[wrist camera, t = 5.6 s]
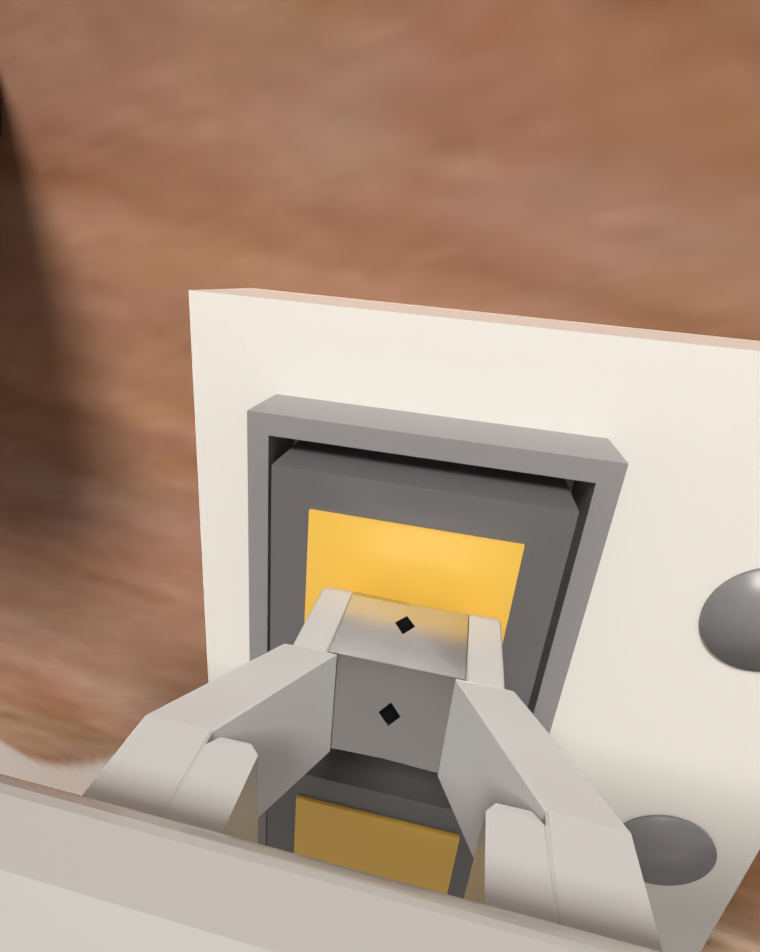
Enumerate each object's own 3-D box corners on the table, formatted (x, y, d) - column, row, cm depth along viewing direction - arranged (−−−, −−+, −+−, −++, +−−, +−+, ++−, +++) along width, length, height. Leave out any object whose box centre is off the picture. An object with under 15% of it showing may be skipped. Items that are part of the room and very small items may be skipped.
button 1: (560, 467, 10) (579, 514, 8) (511, 672, 12) (517, 749, 10) (309, 432, 10) (270, 466, 8) (301, 630, 12) (268, 694, 10)
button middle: (496, 739, 12) (499, 824, 10) (464, 870, 14) (462, 962, 12) (297, 696, 13) (265, 768, 11) (292, 826, 15) (264, 907, 13)
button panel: (885, 354, 11) (1137, 400, 7) (598, 982, 20) (628, 1164, 16) (252, 287, 12) (144, 291, 8) (256, 887, 21) (204, 1028, 17)
